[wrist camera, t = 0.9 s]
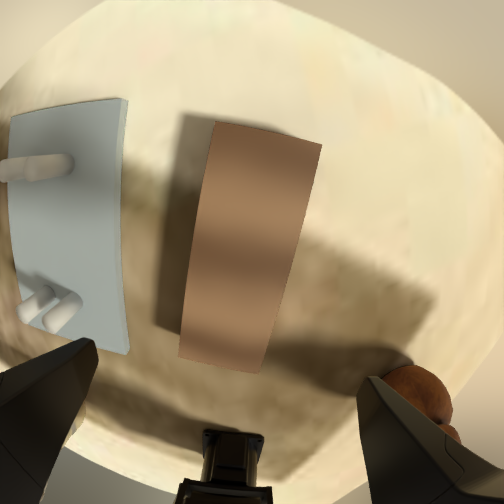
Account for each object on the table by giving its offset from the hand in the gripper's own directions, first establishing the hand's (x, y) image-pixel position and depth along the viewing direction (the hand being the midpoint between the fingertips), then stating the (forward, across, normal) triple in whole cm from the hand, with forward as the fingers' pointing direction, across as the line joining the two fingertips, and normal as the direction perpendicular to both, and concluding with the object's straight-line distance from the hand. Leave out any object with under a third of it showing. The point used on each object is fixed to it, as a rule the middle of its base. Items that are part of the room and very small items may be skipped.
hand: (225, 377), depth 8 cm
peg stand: (+12, +15, 0) cm, 19 cm away
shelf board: (+12, 0, 0) cm, 12 cm away
